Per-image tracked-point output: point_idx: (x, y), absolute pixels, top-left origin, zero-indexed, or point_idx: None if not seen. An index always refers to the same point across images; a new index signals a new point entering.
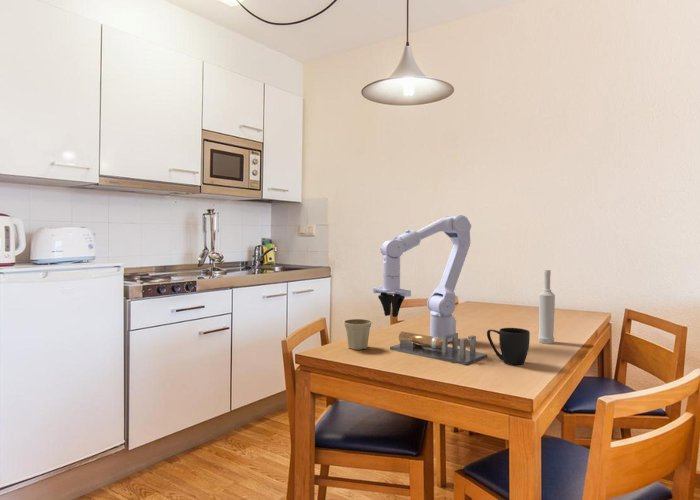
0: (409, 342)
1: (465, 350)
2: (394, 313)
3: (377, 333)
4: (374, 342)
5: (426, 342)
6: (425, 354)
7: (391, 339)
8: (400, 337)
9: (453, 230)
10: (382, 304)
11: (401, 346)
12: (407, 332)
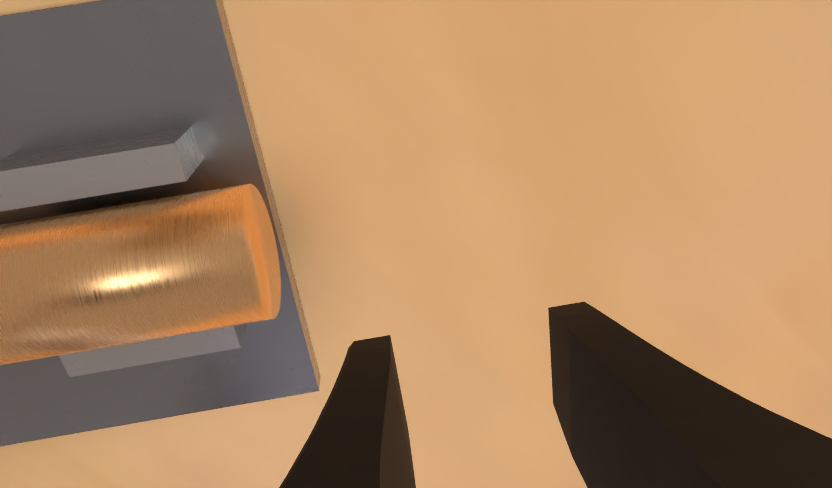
0: (26, 165)
1: None
2: (338, 391)
3: (806, 367)
4: (587, 85)
5: None
6: None
7: None
8: (216, 195)
9: None
10: (772, 427)
11: (156, 117)
12: (158, 298)
